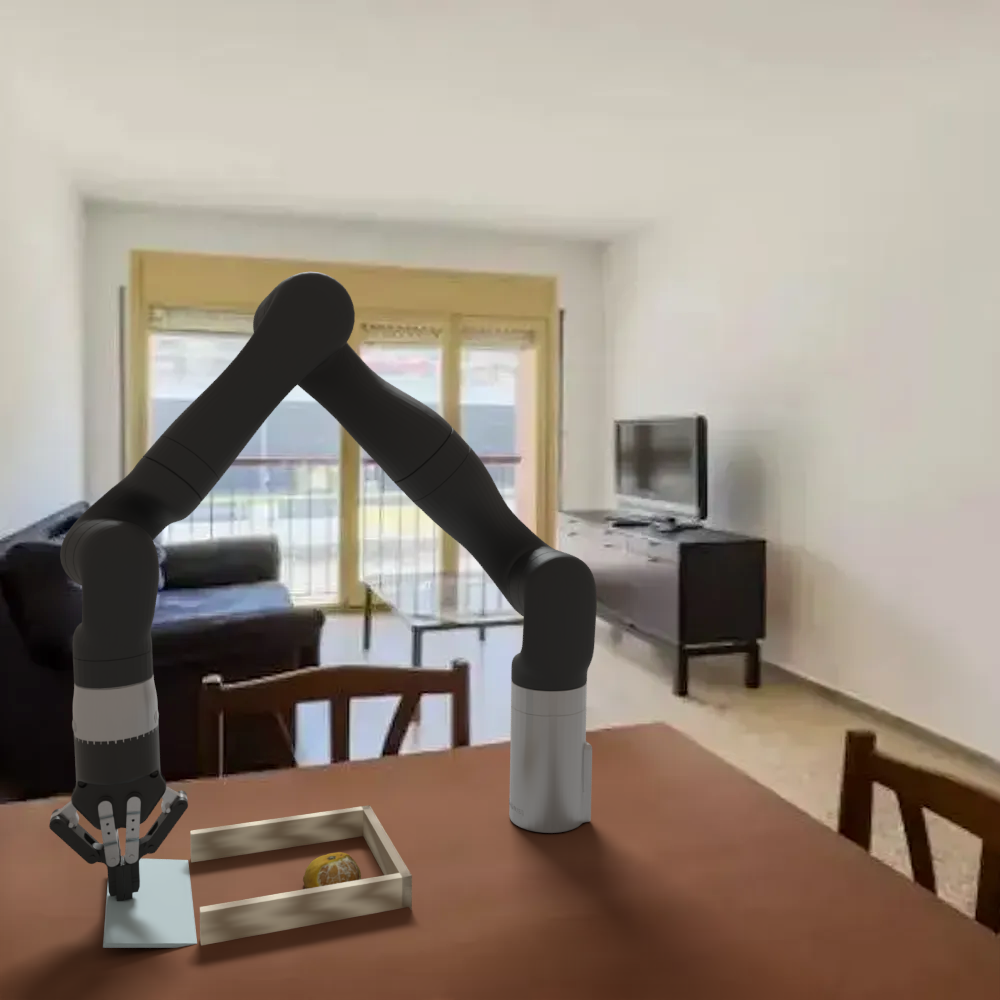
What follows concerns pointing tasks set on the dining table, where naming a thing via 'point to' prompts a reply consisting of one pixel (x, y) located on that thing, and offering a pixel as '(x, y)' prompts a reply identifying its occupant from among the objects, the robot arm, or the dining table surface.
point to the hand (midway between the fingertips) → (124, 896)
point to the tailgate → (153, 909)
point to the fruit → (331, 870)
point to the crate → (304, 903)
